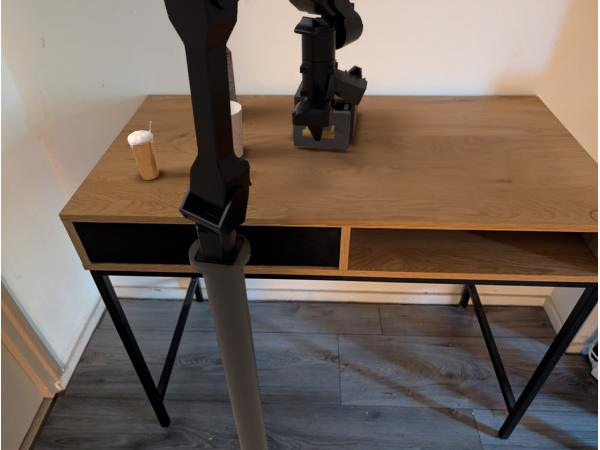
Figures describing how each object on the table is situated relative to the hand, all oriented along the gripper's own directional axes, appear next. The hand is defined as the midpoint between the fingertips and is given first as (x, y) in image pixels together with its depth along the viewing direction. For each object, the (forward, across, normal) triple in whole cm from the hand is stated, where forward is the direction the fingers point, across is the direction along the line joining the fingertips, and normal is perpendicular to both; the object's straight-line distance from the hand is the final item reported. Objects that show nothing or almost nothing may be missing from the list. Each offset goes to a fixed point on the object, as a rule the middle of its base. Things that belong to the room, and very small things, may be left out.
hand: (317, 140), depth 83 cm
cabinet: (+5, +17, 0) cm, 18 cm away
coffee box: (+5, +19, +26) cm, 33 cm away
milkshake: (+5, -9, +31) cm, 33 cm away
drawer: (+4, +10, 0) cm, 10 cm away
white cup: (+5, +1, +19) cm, 20 cm away
